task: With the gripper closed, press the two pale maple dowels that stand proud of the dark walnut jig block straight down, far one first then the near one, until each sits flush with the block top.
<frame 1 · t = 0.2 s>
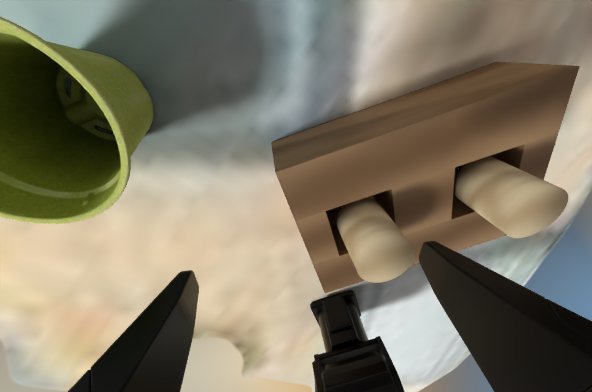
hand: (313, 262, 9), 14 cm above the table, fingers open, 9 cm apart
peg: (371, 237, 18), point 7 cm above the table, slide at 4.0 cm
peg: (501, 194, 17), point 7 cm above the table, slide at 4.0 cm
jig block: (388, 172, 24), on the table
plant pot: (111, 100, 18), on the table
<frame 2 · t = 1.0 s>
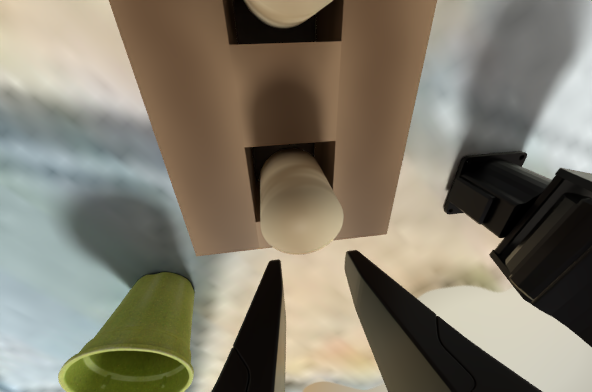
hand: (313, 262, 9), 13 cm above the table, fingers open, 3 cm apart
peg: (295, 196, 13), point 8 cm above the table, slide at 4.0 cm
jig block: (280, 85, 17), on the table
plant pot: (166, 287, 26), on the table
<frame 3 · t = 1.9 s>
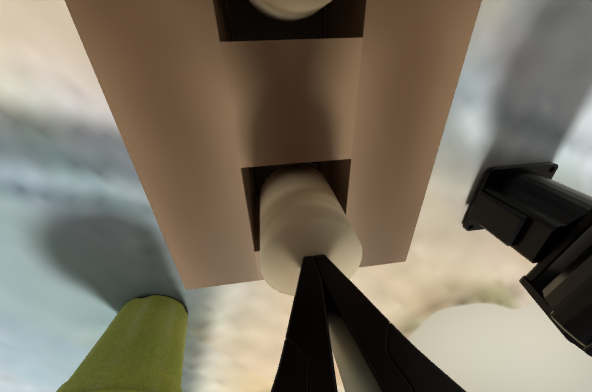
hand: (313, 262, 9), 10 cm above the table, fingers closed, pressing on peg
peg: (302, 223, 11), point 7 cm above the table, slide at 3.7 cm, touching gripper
jig block: (283, 90, 15), on the table
plant pot: (157, 310, 24), on the table
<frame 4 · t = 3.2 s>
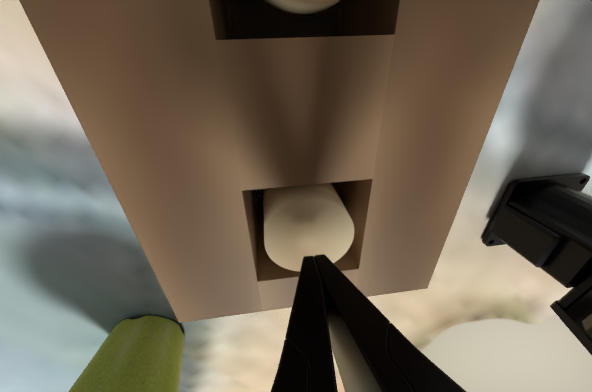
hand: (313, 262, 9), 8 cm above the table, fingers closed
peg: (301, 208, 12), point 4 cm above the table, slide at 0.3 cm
jig block: (289, 96, 13), on the table
plant pot: (151, 330, 22), on the table
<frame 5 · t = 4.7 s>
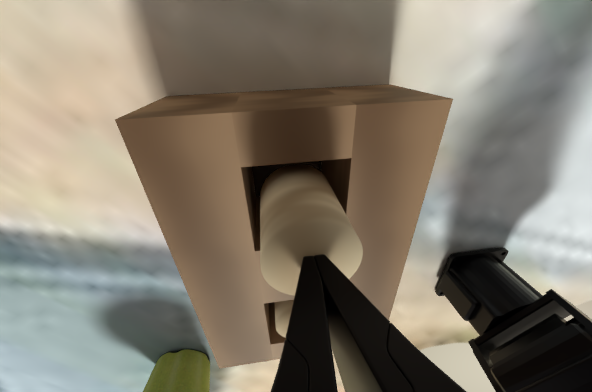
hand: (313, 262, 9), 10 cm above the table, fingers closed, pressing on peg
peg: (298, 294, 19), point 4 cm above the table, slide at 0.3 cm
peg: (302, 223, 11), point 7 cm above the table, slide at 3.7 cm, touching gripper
jig block: (290, 218, 20), on the table
plant pot: (185, 359, 29), on the table
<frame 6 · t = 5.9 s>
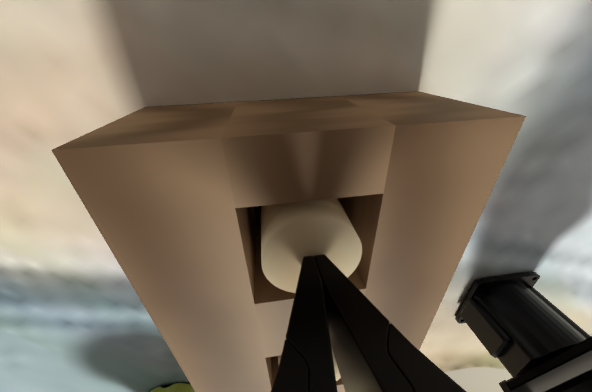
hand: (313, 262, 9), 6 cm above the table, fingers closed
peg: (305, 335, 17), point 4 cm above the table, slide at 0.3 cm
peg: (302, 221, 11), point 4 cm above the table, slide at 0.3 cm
jig block: (295, 245, 17), on the table
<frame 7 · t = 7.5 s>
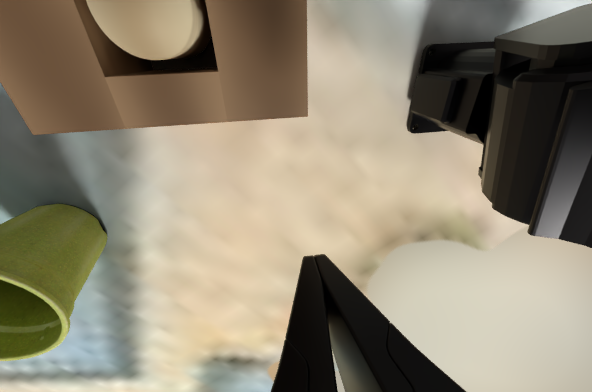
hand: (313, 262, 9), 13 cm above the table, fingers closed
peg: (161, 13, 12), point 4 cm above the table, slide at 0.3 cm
plant pot: (71, 228, 22), on the table
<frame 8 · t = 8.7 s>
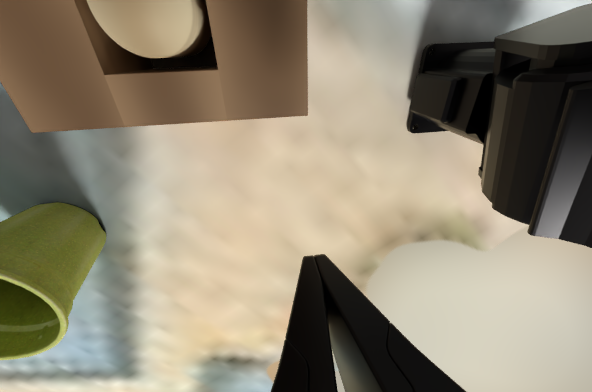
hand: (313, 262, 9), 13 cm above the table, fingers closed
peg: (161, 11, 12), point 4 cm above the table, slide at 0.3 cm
plant pot: (70, 227, 22), on the table
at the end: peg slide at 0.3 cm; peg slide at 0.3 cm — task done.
